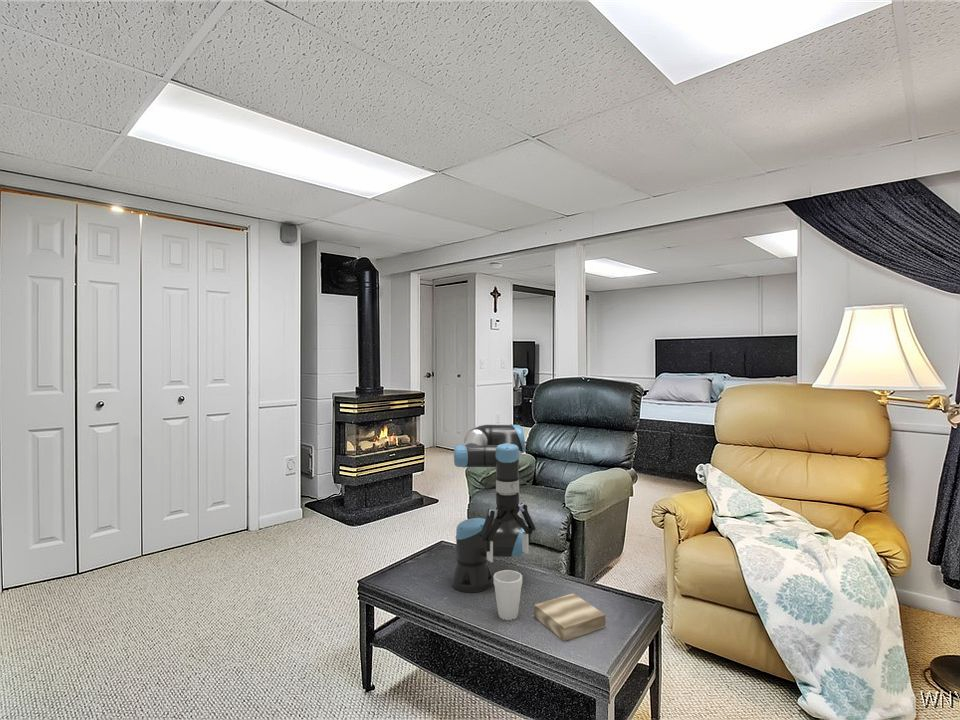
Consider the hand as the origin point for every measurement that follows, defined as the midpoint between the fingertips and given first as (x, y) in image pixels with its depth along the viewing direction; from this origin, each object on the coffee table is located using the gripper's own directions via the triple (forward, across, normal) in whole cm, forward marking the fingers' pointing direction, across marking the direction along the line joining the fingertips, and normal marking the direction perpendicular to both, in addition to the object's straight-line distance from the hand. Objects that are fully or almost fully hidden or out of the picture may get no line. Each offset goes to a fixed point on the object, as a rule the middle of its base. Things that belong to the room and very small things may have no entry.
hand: (507, 556), depth 171 cm
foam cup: (+20, 0, 0) cm, 20 cm away
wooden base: (+20, +15, -13) cm, 28 cm away
